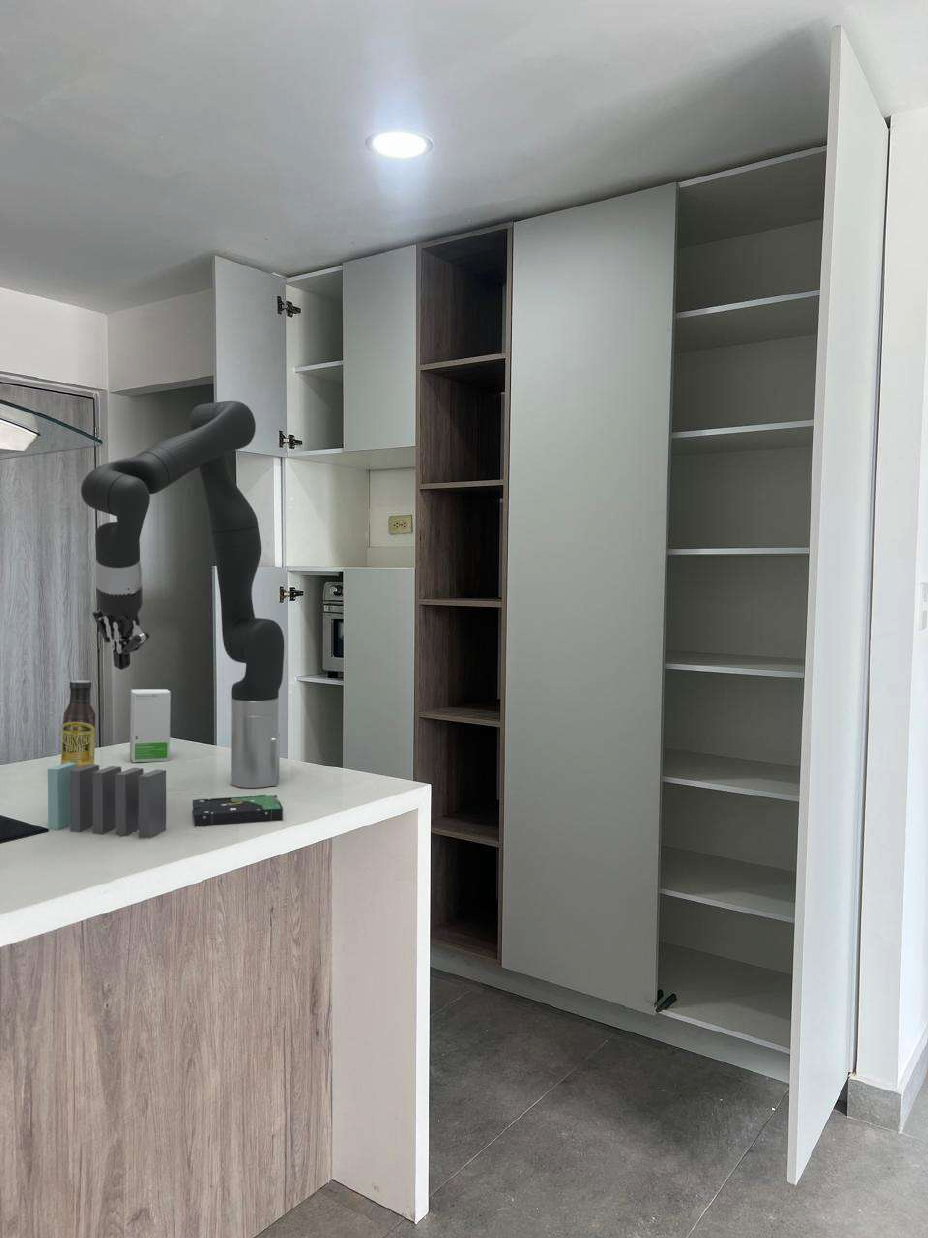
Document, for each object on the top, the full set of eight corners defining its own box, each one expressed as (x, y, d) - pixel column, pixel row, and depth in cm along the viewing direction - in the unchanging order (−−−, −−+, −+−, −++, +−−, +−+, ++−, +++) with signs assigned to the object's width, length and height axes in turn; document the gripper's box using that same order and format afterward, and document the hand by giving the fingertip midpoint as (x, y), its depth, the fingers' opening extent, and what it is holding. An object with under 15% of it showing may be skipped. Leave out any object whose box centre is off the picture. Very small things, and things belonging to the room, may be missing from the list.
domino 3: (121, 826, 152) (121, 766, 151) (102, 834, 147) (102, 773, 146) (112, 825, 152) (111, 766, 152) (92, 833, 147) (92, 772, 147)
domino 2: (99, 824, 153) (99, 765, 152) (80, 832, 148) (79, 771, 148) (90, 823, 153) (89, 764, 153) (70, 831, 148) (69, 770, 148)
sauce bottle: (57, 782, 182) (56, 682, 181) (65, 774, 188) (64, 679, 187) (91, 781, 183) (91, 682, 182) (98, 774, 189) (98, 678, 188)
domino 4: (143, 828, 151) (143, 768, 150) (125, 836, 146) (125, 775, 145) (134, 827, 151) (133, 767, 151) (115, 835, 146) (115, 774, 146)
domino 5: (166, 830, 150) (166, 770, 149) (148, 839, 145) (148, 776, 144) (156, 829, 150) (156, 769, 150) (138, 838, 145) (138, 776, 145)
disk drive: (194, 831, 152) (284, 823, 157) (194, 814, 152) (284, 807, 157) (191, 814, 162) (276, 807, 167) (191, 799, 162) (276, 792, 166)
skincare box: (131, 763, 200) (131, 693, 199) (129, 757, 206) (128, 689, 205) (171, 760, 203) (171, 691, 202) (167, 755, 209) (167, 687, 208)
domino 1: (77, 821, 154) (77, 763, 153) (57, 830, 149) (57, 769, 149) (68, 821, 154) (68, 762, 154) (48, 829, 150) (47, 768, 149)
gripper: (75, 574, 157) (80, 659, 165) (125, 603, 151) (128, 690, 159) (113, 562, 162) (116, 645, 171) (162, 590, 157) (163, 674, 165)
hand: (122, 666), depth 165 cm, fingers closed
